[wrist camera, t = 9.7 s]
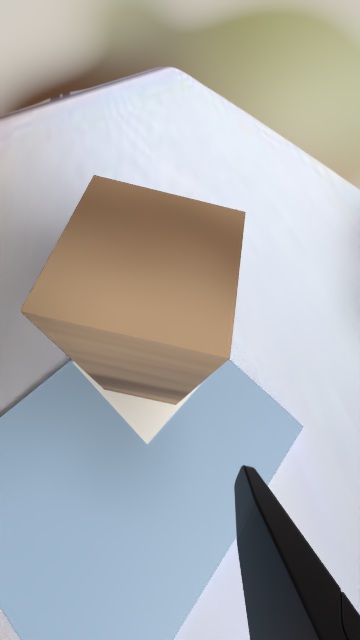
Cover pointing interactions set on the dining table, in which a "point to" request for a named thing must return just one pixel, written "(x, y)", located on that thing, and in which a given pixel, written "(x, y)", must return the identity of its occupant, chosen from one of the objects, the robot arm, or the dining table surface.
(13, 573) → the board
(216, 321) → the walnut column
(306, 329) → the dining table surface
